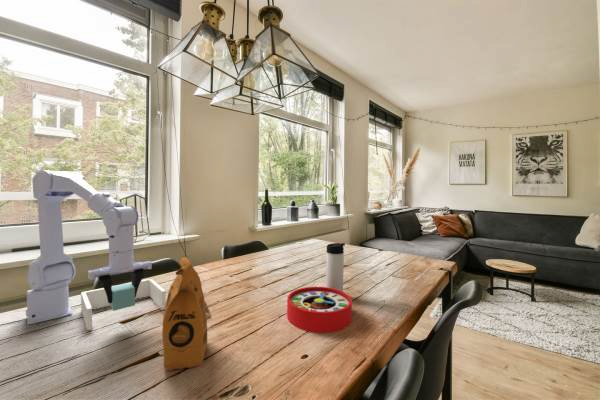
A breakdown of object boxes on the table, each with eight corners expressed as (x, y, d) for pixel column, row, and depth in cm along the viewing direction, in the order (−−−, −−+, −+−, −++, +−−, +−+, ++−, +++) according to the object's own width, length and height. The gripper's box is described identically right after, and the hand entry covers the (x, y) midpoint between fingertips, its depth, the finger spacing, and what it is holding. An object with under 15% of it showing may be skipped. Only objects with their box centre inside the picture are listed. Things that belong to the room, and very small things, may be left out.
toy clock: (277, 306, 78) (298, 283, 97) (277, 326, 78) (298, 299, 97) (347, 317, 72) (355, 290, 91) (347, 339, 72) (355, 308, 91)
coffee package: (155, 376, 57) (154, 272, 56) (167, 343, 69) (166, 257, 68) (205, 368, 59) (205, 268, 58) (208, 337, 71) (208, 255, 70)
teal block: (113, 310, 72) (113, 292, 71) (109, 304, 75) (109, 287, 75) (134, 305, 75) (134, 287, 75) (130, 299, 79) (130, 282, 78)
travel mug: (343, 301, 95) (344, 245, 94) (324, 300, 97) (325, 244, 96) (344, 295, 101) (345, 241, 101) (326, 293, 103) (327, 241, 102)
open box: (87, 330, 74) (87, 309, 74) (81, 311, 86) (81, 292, 85) (165, 309, 88) (165, 290, 87) (151, 294, 99) (151, 278, 99)
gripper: (90, 257, 66) (91, 311, 67) (154, 249, 77) (155, 296, 77) (86, 252, 72) (87, 302, 72) (147, 245, 82) (147, 289, 82)
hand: (122, 299), depth 75 cm, fingers closed on teal block, 5 cm apart
